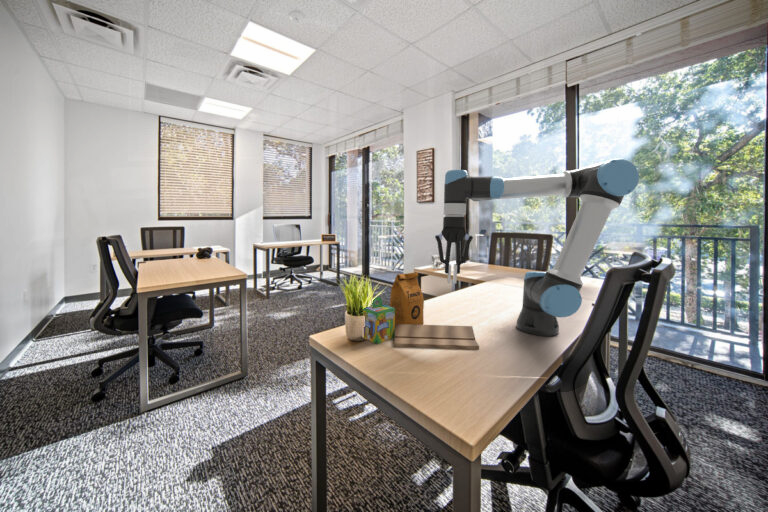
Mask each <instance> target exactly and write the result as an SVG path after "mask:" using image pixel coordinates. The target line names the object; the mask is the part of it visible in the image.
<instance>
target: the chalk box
mask: <svg viewBox="0 0 768 512" xmlns="http://www.w3.org/2000/svg"><path fill="white" fill-rule="evenodd" d="M374 298H375V299H374V300H373V303H372V302H371V304H372V307H370V306H369V307H366V308H364V309H363V312H362V313H363V315H364V316H365V327H364V338H363V339H364V340H365V341H368V342H371V343H372V344H376V345H378V344H382V343H384V342H387V341H391V340H392V339H395V308H393V307H390V305H387V304H383V300H382V297H381V296H377V297H374ZM376 301H377V303H376Z"/></svg>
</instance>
